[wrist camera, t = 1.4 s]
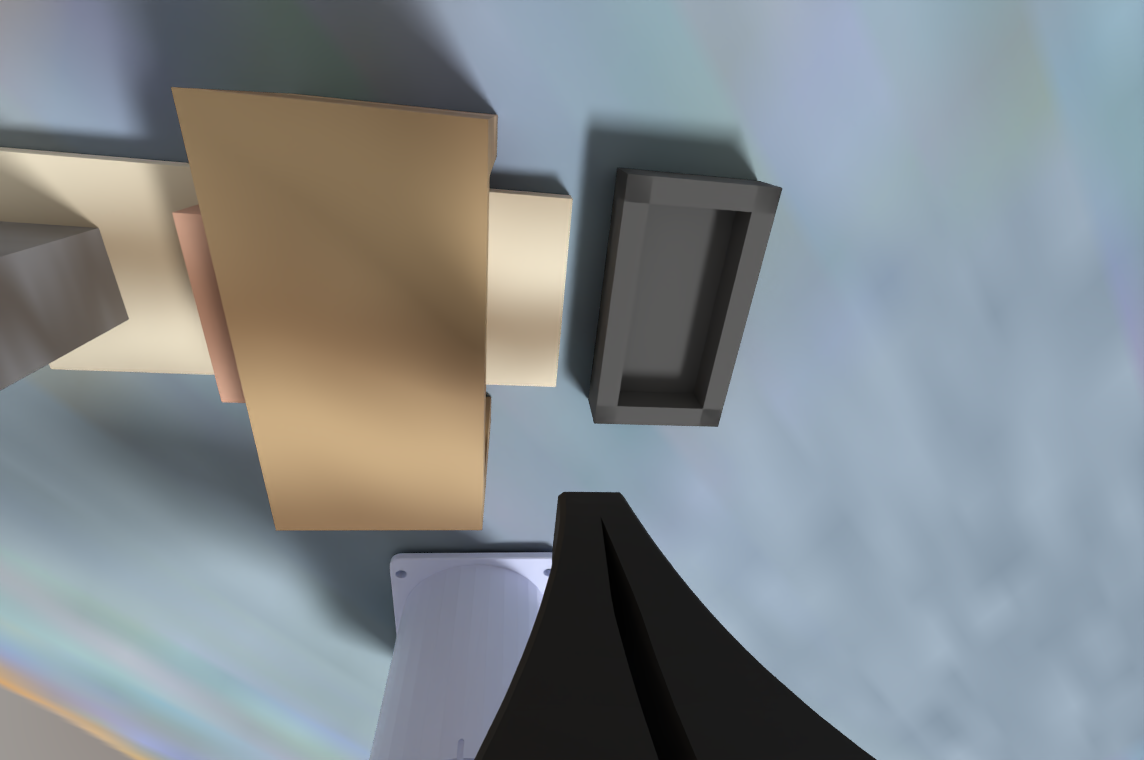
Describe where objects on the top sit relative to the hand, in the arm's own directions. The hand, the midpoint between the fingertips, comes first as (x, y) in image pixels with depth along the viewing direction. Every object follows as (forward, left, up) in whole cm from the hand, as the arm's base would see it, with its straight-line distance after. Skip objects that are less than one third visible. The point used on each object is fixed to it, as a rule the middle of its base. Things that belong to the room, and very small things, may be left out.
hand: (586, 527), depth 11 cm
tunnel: (+2, +5, -10) cm, 11 cm away
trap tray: (+2, -4, -10) cm, 11 cm away
